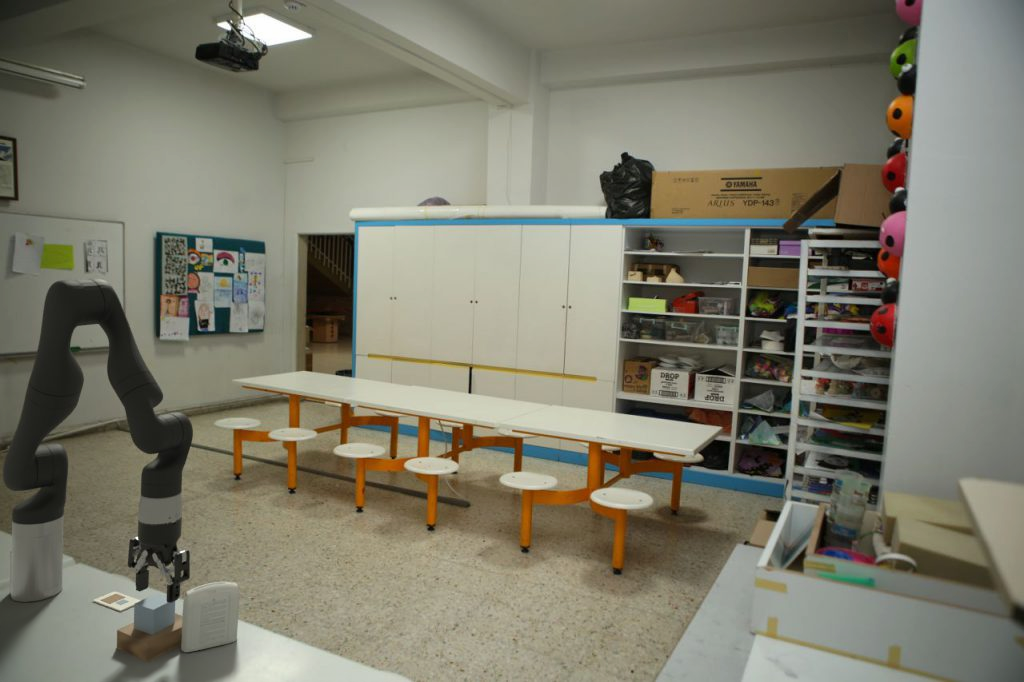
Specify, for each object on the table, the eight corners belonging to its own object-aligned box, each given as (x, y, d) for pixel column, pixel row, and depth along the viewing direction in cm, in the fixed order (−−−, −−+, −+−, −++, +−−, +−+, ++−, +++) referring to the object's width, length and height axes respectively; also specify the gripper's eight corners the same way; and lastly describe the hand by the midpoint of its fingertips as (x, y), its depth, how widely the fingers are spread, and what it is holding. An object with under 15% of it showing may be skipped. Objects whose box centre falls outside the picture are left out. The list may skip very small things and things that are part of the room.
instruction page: (92, 601, 141) (92, 599, 141) (114, 592, 146) (114, 590, 146) (120, 611, 138) (120, 610, 138) (142, 602, 142) (142, 600, 142)
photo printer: (234, 632, 133) (237, 574, 132) (239, 642, 129) (242, 582, 128) (179, 645, 127) (181, 584, 126) (182, 656, 123) (185, 593, 122)
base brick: (116, 649, 125) (117, 629, 124) (164, 627, 134) (164, 608, 133) (146, 664, 121) (147, 643, 120) (193, 640, 130) (194, 621, 129)
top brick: (133, 628, 125) (134, 603, 125) (156, 617, 130) (156, 593, 130) (152, 634, 123) (153, 609, 123) (174, 623, 128) (175, 598, 128)
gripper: (117, 513, 125) (114, 593, 126) (169, 529, 119) (166, 613, 121) (152, 502, 132) (149, 579, 133) (203, 517, 126) (199, 596, 127)
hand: (157, 595), depth 127 cm, fingers open, 8 cm apart
